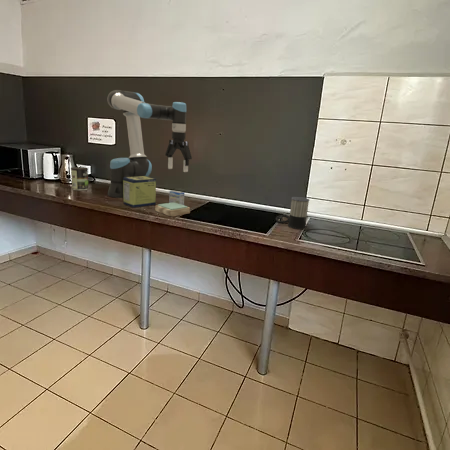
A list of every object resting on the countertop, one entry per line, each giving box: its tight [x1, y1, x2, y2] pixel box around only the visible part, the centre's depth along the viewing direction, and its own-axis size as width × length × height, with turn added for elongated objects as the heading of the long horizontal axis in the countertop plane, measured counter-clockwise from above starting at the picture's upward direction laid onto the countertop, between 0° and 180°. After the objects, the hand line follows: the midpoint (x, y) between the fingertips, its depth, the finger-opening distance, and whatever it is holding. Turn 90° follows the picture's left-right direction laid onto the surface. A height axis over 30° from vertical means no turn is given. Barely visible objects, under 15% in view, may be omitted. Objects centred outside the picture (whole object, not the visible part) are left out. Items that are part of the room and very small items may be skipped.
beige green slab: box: [154, 204, 191, 217], centre depth 181 cm, size 14×13×3 cm
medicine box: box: [168, 190, 185, 206], centre depth 195 cm, size 8×4×9 cm, turn 62°
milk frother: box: [275, 196, 310, 230], centre depth 172 cm, size 14×16×15 cm
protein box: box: [123, 176, 157, 208], centre depth 191 cm, size 10×16×16 cm
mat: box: [157, 202, 189, 210], centre depth 181 cm, size 12×11×1 cm
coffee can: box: [70, 166, 90, 191], centre depth 220 cm, size 10×10×14 cm
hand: (177, 170), depth 190 cm, fingers open, 13 cm apart
